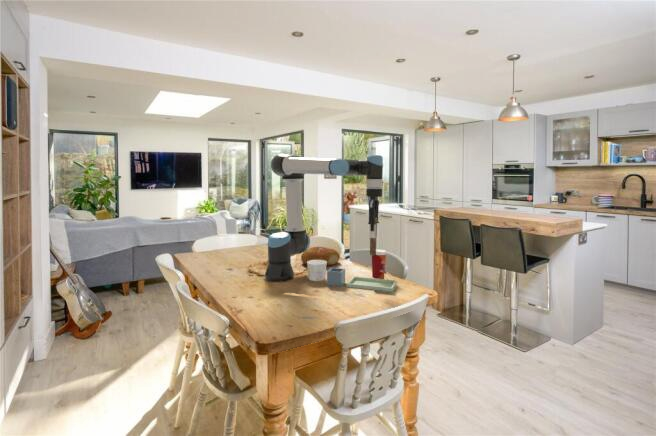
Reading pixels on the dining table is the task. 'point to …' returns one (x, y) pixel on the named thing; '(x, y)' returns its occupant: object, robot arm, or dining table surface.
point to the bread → (320, 255)
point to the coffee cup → (378, 264)
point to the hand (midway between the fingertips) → (373, 237)
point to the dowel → (373, 242)
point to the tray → (373, 284)
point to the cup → (316, 270)
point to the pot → (336, 277)
